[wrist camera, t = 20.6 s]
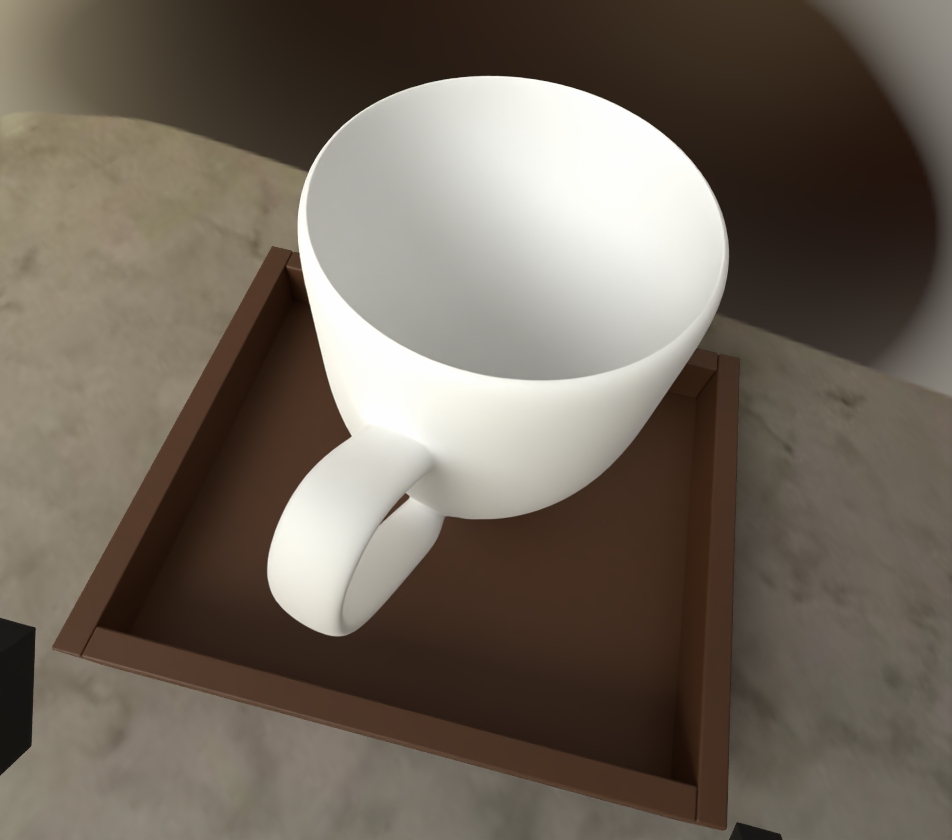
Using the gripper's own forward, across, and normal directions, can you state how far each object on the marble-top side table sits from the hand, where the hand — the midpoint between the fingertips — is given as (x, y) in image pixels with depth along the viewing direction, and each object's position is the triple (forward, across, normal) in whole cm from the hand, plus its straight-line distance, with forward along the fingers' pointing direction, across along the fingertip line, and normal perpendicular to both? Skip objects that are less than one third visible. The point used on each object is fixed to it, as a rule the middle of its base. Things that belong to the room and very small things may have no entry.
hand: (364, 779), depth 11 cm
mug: (+10, 0, +1) cm, 10 cm away
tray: (+11, 0, 0) cm, 11 cm away
